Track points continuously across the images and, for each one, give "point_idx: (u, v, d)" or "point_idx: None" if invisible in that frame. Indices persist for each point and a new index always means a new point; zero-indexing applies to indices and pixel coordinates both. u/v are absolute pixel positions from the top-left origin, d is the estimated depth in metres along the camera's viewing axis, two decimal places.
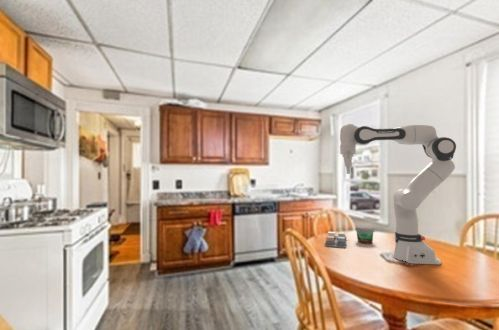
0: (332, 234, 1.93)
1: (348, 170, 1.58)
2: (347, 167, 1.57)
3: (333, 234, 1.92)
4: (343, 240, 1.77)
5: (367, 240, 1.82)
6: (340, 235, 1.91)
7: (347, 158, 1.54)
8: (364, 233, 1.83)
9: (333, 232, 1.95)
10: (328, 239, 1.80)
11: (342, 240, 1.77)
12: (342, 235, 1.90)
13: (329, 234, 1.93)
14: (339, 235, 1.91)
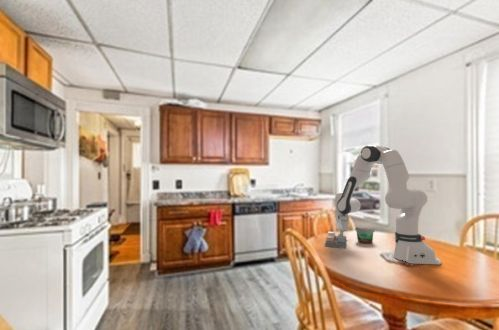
0: (332, 234, 1.93)
1: None
2: None
3: (333, 234, 1.92)
4: (343, 240, 1.77)
5: (367, 240, 1.82)
6: None
7: None
8: (364, 233, 1.83)
9: (333, 232, 1.95)
10: (328, 239, 1.80)
11: (342, 240, 1.77)
12: None
13: (329, 234, 1.93)
14: (339, 236, 1.91)
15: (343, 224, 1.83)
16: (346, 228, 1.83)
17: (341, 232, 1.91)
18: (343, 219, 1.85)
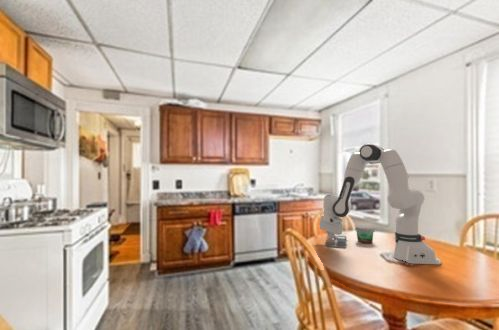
0: None
1: None
2: None
3: None
4: (343, 240, 1.77)
5: (367, 240, 1.82)
6: None
7: None
8: (364, 233, 1.83)
9: None
10: (328, 241, 1.80)
11: (342, 240, 1.77)
12: None
13: None
14: None
15: (338, 227, 1.73)
16: (341, 231, 1.73)
17: (331, 236, 1.80)
18: (337, 222, 1.74)
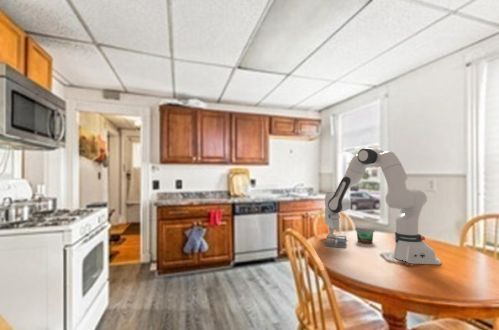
0: (332, 234, 1.93)
1: None
2: None
3: (333, 235, 1.92)
4: (343, 240, 1.77)
5: (367, 240, 1.82)
6: None
7: None
8: (364, 233, 1.83)
9: (333, 233, 1.95)
10: (328, 241, 1.80)
11: (342, 240, 1.77)
12: None
13: (329, 235, 1.93)
14: None
15: (334, 223, 1.86)
16: (337, 227, 1.85)
17: (331, 231, 1.94)
18: (334, 218, 1.87)
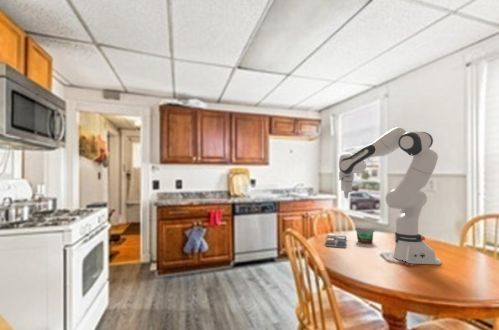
0: (332, 236, 1.93)
1: None
2: None
3: (333, 236, 1.92)
4: (343, 240, 1.77)
5: (367, 240, 1.82)
6: None
7: None
8: (364, 233, 1.83)
9: (333, 234, 1.95)
10: (328, 241, 1.80)
11: (342, 240, 1.77)
12: None
13: (329, 236, 1.93)
14: None
15: (346, 185, 1.75)
16: (350, 189, 1.74)
17: (345, 195, 1.82)
18: (347, 180, 1.76)
